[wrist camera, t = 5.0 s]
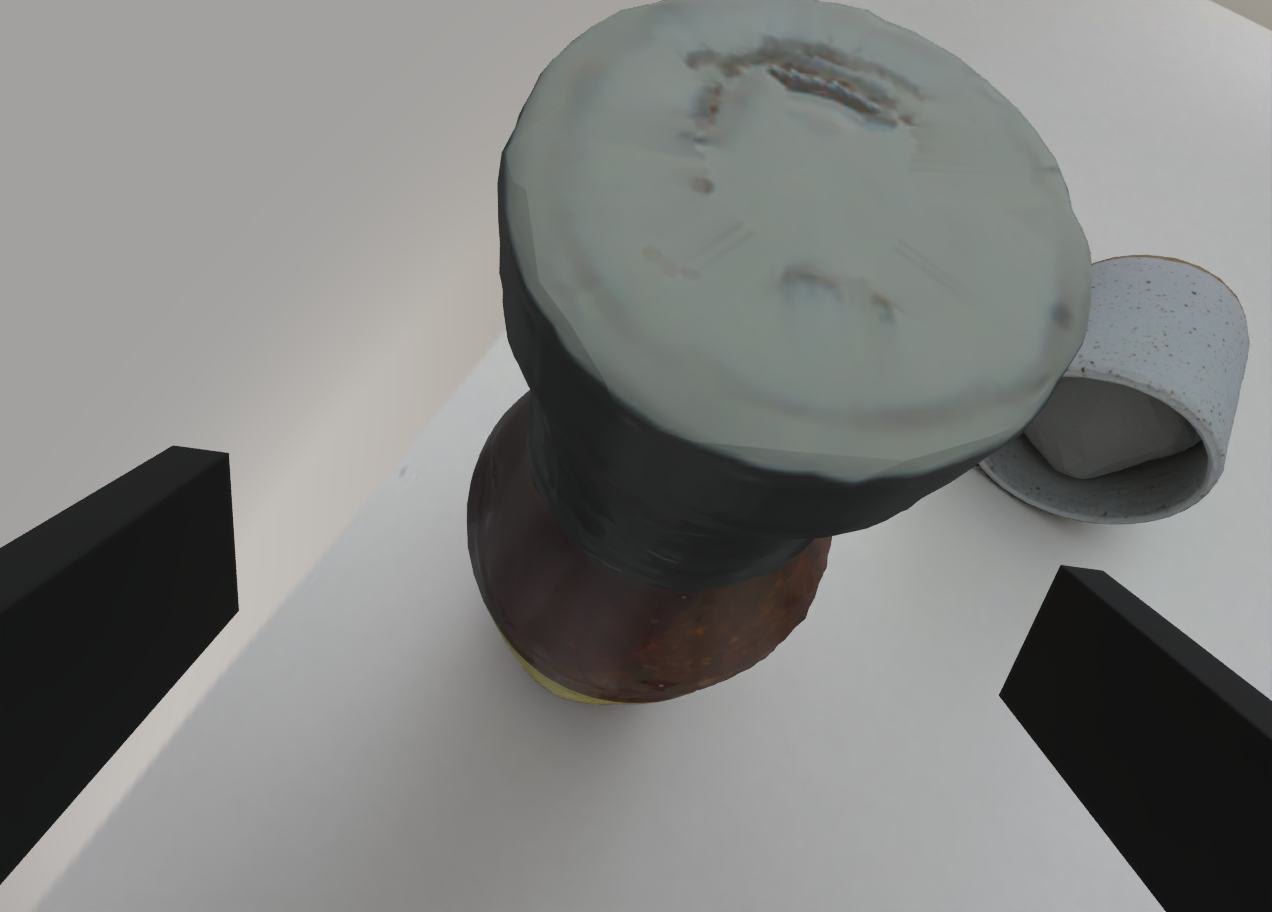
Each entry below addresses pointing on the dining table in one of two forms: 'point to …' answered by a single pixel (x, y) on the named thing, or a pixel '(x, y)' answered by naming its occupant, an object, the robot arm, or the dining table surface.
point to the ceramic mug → (1136, 399)
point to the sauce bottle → (750, 326)
